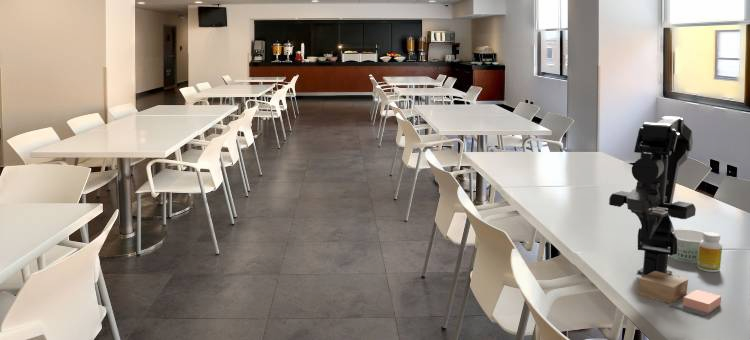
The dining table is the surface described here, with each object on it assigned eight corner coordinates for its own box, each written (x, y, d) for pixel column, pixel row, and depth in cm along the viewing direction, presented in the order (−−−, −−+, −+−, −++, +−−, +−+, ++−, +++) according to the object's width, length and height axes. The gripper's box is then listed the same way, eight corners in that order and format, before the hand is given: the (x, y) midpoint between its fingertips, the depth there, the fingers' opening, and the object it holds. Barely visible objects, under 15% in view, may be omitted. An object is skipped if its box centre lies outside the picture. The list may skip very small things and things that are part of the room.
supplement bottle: (720, 273, 169) (724, 237, 168) (698, 271, 171) (701, 235, 170) (718, 267, 174) (722, 232, 172) (696, 264, 176) (699, 230, 174)
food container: (666, 261, 179) (668, 238, 178) (662, 248, 190) (664, 227, 189) (714, 266, 175) (717, 243, 174) (707, 253, 186) (709, 231, 185)
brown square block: (653, 286, 161) (654, 270, 160) (686, 295, 155) (688, 279, 154) (638, 294, 155) (639, 278, 155) (671, 304, 150) (673, 287, 149)
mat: (686, 296, 154) (687, 294, 154) (720, 305, 149) (720, 303, 149) (669, 306, 148) (670, 304, 148) (704, 316, 143) (704, 314, 143)
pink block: (721, 296, 148) (720, 304, 148) (696, 289, 152) (695, 297, 152) (708, 304, 143) (707, 312, 144) (683, 297, 147) (682, 305, 148)
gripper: (599, 174, 156) (595, 237, 159) (678, 187, 142) (671, 255, 145) (622, 168, 163) (618, 228, 166) (699, 180, 149) (693, 245, 152)
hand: (648, 239), depth 157 cm, fingers closed
